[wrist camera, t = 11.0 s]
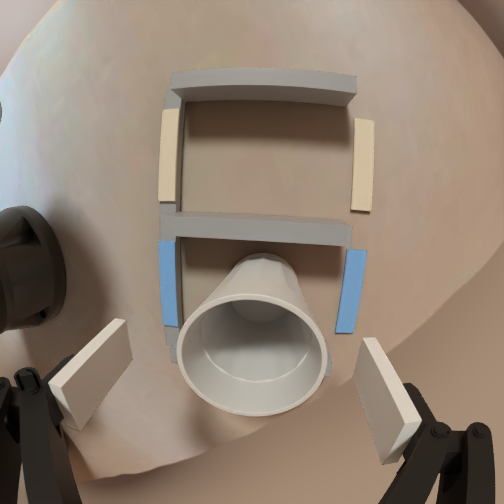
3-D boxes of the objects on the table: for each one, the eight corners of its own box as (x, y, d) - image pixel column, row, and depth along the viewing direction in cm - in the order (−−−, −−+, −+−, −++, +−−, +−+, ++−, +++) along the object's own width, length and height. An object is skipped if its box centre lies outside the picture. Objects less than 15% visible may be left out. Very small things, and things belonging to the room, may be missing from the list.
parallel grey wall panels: (170, 339, 28) (156, 360, 24) (171, 88, 23) (154, 74, 19) (348, 353, 27) (356, 376, 23) (372, 96, 21) (387, 81, 17)
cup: (317, 313, 26) (339, 399, 14) (236, 335, 27) (210, 424, 16) (292, 231, 24) (305, 272, 13) (206, 258, 26) (152, 316, 14)
